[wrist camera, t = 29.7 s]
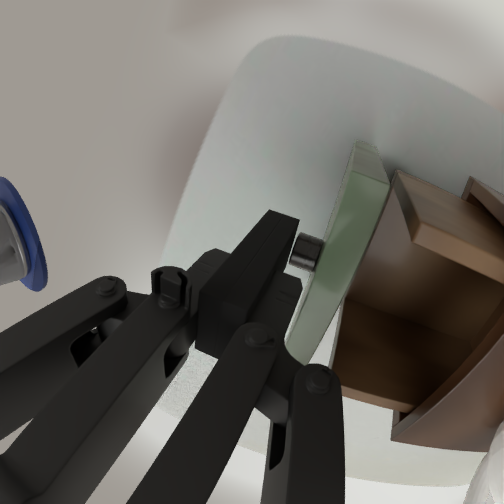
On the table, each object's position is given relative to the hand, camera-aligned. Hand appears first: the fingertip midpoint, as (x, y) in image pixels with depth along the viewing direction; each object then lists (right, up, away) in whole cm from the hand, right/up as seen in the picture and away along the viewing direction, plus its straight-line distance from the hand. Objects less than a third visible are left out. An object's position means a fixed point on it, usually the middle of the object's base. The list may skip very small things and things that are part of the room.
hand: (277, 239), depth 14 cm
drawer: (+9, -1, +1) cm, 9 cm away
